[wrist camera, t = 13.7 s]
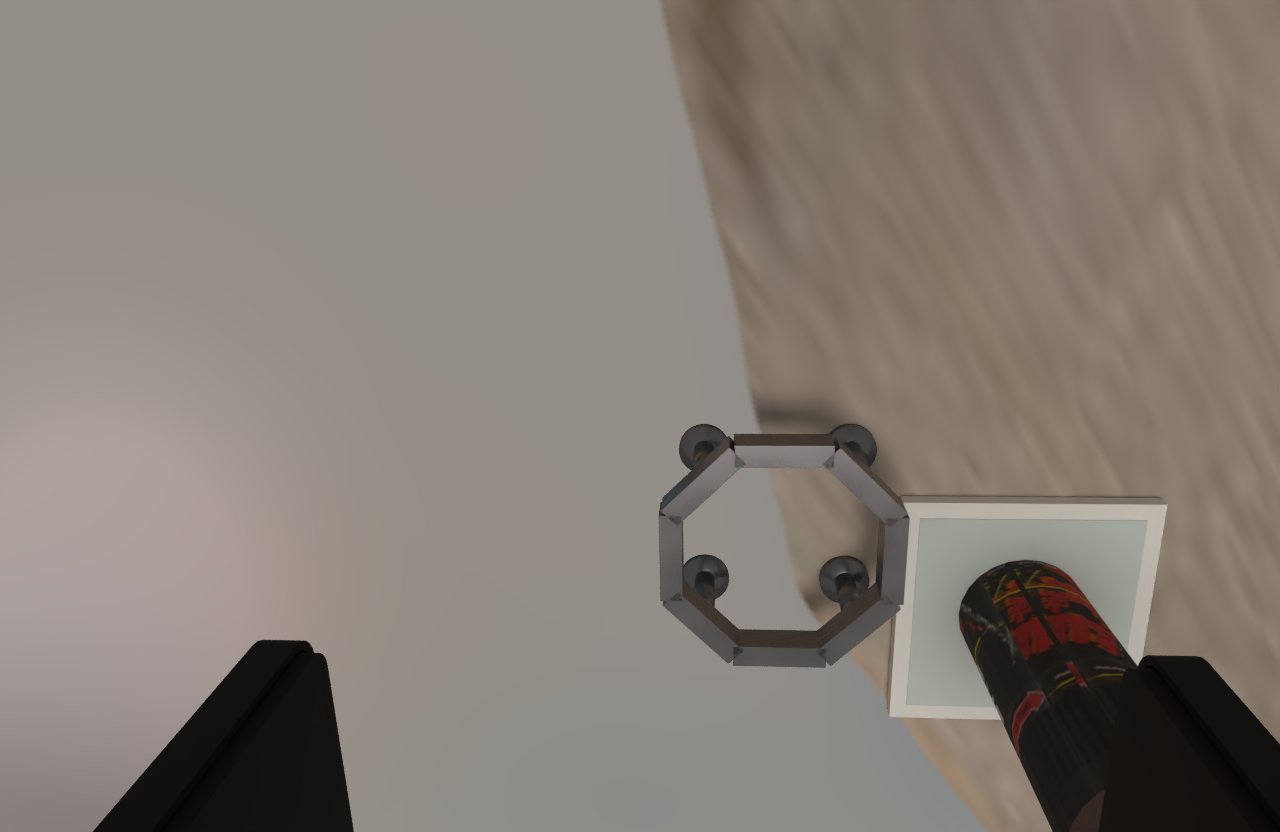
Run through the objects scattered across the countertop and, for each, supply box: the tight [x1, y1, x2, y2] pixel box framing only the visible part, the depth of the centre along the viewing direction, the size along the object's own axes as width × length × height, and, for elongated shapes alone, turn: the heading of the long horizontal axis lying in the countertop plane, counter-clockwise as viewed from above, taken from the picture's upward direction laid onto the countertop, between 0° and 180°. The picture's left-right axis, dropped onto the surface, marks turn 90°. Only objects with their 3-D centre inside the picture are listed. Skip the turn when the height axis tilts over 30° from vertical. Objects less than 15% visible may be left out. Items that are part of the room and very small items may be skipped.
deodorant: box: [959, 560, 1138, 832], centre depth 38 cm, size 6×6×15 cm
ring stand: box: [659, 424, 910, 668], centre depth 44 cm, size 11×11×5 cm
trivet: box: [887, 496, 1167, 720], centre depth 46 cm, size 12×12×1 cm
